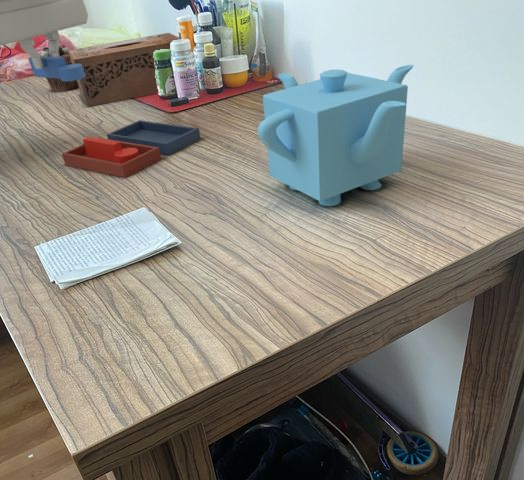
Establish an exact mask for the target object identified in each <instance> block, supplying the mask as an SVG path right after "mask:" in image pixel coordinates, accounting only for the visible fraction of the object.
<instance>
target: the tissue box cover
mask: <svg viewBox="0 0 524 480" xmlns="http://www.w3.org/2000/svg"><path fill="white" fill-rule="evenodd" d="M180 38H181V37H179V36H177V35H175V34H173V33H171V32H165V33H159V34H154V35H149V36H142V37H137V38H130V39H125V40H124V39H123V40H120V41H114V42H107V43H102V44H97V45H91V46H84V47H80V48H73V49H69V50H68V52H69V56H70V59H71V62H72V64H82V66H83V69H84V73H85V77H84V78H82V79H79V80H77V82H78V86H79V88H78V89H79V92H80V96H81V97H82V99H83V101H84V103H85V104H86V107H87V108H90V107H93V106H99V105H105V104H110V103H113V102H120V101H125V100H130V99H133V98H140V97H143V96H144V97H145V96H149V95H155V94H159V93H158V89H157V85H156V78H155V67H154V58H153V52H154V51H155V50H160V49H170V43H171V42H172V41H173V40H176V39H180Z"/></svg>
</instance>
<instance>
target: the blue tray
mask: <svg viewBox="0 0 524 480" xmlns="http://www.w3.org/2000/svg"><path fill="white" fill-rule="evenodd" d="M200 132H201V131H200V128H199V127H193V126H185V125H178V124H170V123H163V122H155V121H148V120H146V121H145V120H137V121H135V122H131V123H130V124H128V125H125V126H123V127H120V128H117V129H116V130H113V131H111V132H109V133H106V139H110V140H116V141H122V142H128V143H135V144H141V145H147V146H153V147H159V149H160V154H161V155H164V156H170V155H172V154H174V153H177V152H178V151H180V150H182V149H184V148H186V147H188V146H190V145H192V144H194V143H196V142H199V141H200V140H201V139H202V137H201V133H200Z"/></svg>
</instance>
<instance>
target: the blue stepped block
mask: <svg viewBox="0 0 524 480" xmlns="http://www.w3.org/2000/svg"><path fill="white" fill-rule="evenodd" d="M27 59H28V63H29V64H30V68H31V70H32V74H33V76H34V77H35V78H45V79H46V78H59V79H61V80H62V81H74V80H79V79H82V78H84V77H85V73H84V69H83V66H82V64H69V65H66V61H65V58H64V57H47V56H45V60H46V63H47V67H45V68H42V69H36V68H35V66H34V64H33V61H32V58H31V57H30V56H29V57H28V58H27Z"/></svg>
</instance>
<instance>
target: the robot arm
mask: <svg viewBox="0 0 524 480" xmlns="http://www.w3.org/2000/svg"><path fill="white" fill-rule="evenodd" d="M88 19H89V14H88V10H87V7H86V4H85V1H84V0H0V47H2V46H5V45H9V44H12V43H16V42H19V43H18V44H19V47H20V48H21V49H22V50H23V51H24V52H25V53H26V55H28V56H29V58H30V57H31V58H32V61H33V64H34V66H35V68H36V69H42V68H45V67H47V63H46V60H45V56H44V55H41V54H39V52H38V51H37V50H36V49H35V47H33V46H35V45H36V44H35V40H34V38H36V37H39V36H43V35H44V38H45V40H46V41H48V48H49V52H47V53H45V54H46V56H47V57H60V56H59V53H58V51H59V47H60V43H61V37H60V34H59V31H63V30H68V29H70V28H74V27H78V26H82V25H86V24H87V23H88Z"/></svg>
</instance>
